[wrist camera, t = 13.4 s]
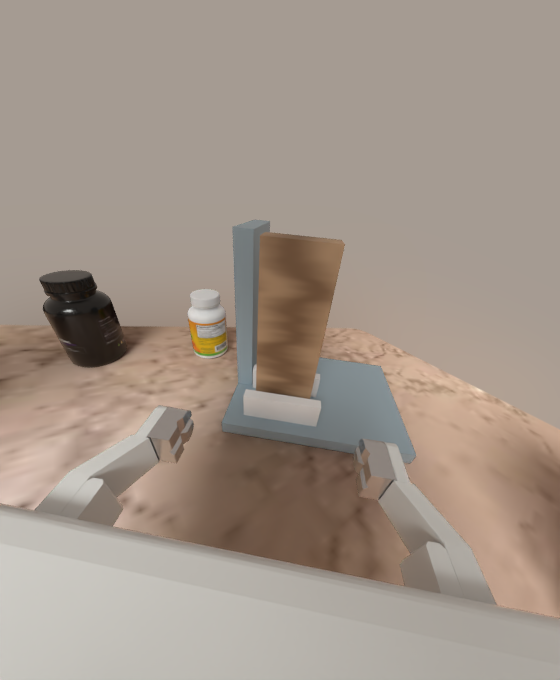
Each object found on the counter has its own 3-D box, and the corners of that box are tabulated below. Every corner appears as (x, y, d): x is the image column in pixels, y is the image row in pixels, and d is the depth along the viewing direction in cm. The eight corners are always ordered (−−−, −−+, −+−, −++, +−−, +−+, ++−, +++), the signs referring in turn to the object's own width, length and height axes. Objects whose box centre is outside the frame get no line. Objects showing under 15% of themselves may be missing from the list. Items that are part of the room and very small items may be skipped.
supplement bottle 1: (60, 370, 30) (6, 283, 23) (90, 341, 35) (53, 266, 29) (115, 368, 31) (79, 286, 24) (136, 341, 36) (111, 268, 30)
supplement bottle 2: (197, 340, 38) (188, 286, 32) (228, 340, 39) (225, 287, 33) (190, 360, 33) (179, 301, 28) (226, 359, 34) (222, 301, 29)
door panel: (255, 404, 25) (259, 235, 16) (261, 385, 28) (268, 230, 18) (306, 413, 25) (344, 244, 15) (307, 392, 28) (340, 237, 18)
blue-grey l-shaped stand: (222, 431, 24) (201, 236, 13) (252, 355, 36) (254, 219, 25) (410, 463, 22) (555, 275, 12) (377, 373, 34) (436, 238, 24)
